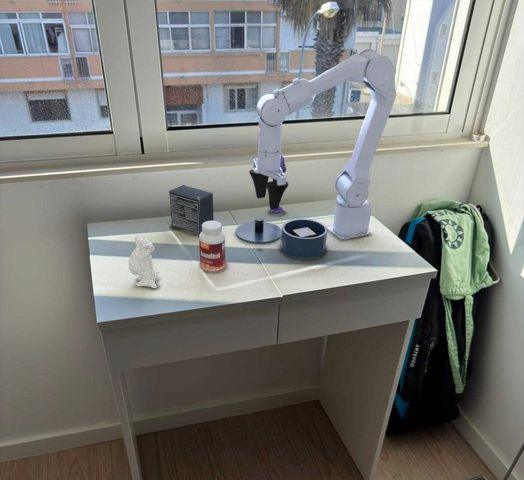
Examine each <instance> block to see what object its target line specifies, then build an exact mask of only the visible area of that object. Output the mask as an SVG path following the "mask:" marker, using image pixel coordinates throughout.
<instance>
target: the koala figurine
mask: <svg viewBox="0 0 524 480" xmlns="http://www.w3.org/2000/svg"><path fill="white" fill-rule="evenodd" d="M134 243H135V248H134V249H133V251H131V254H130V256H129V259H128V270H129V272H130V273H131V275H133V276H138V278H137V280H138V281H137V282H136V283H135V285H136V287H137V286H138V287H149V288H153V289H156V288H157V287H158V286H157V283H155V282H156V281H157V278H158V276H159V274H160V271H159V270H154V266H153V262H152V261H153V256H152V255H151V254H152V253H153V252H154V251H155V250H156V248H155V246H154V243H152V242H151V241H150V240H148V238H146V237H141V236H135V238H134Z"/></svg>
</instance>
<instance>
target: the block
mask: <svg viewBox="0 0 524 480" xmlns="http://www.w3.org/2000/svg"><path fill="white" fill-rule="evenodd" d="M292 235H293V236H296V237H302V238H313V237H316V234H315V233H314V232H313V231H312V230H310V229H309V228H308V227H306V228H300V229H295V230H293V231H292Z"/></svg>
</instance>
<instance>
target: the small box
mask: <svg viewBox="0 0 524 480" xmlns="http://www.w3.org/2000/svg"><path fill="white" fill-rule="evenodd" d="M168 196H169V204H170V205H169V206H170V219H171V227H174V228H176V229H177V228H178V229H181V230H183V231H186V232H189V233H191V234H196V235H198V236H199V235H200V233H201V232H202V224H203V223H204V222H206V221H215V219H214V193H213V192H211V191H206V190H203V189H199V188H196V187H192V186H189V185H185V184H182V185H179V186H177V187H175V188H172V189H170V190H168Z"/></svg>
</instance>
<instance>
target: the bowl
mask: <svg viewBox="0 0 524 480" xmlns="http://www.w3.org/2000/svg"><path fill="white" fill-rule="evenodd" d="M306 227H308V228H309V229H310V230H312V231H313V232H314V233H315V234H316V237H313V238H302V237H296V236H293V235H292V231H293V230H295V229H300V228H306ZM327 227H328V226H326V225H325V224H324V223H322V222H320V221H318V220H315V219H311V218H296V219H295V218H294V219H290V220H287V221H285V222H284V223H283V224H282V226H281V230H282V233H281V237H280V248H281V251H283V253H285V254H286V255H288V256H290V257H294V258H297V259H298V258H299V259H312V258H313V259H314V258H316V257H320V256H321V255H323V254H324V253H325V252H326V248H327V247H326V246H327V238H328V230H329V229H327Z"/></svg>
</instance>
